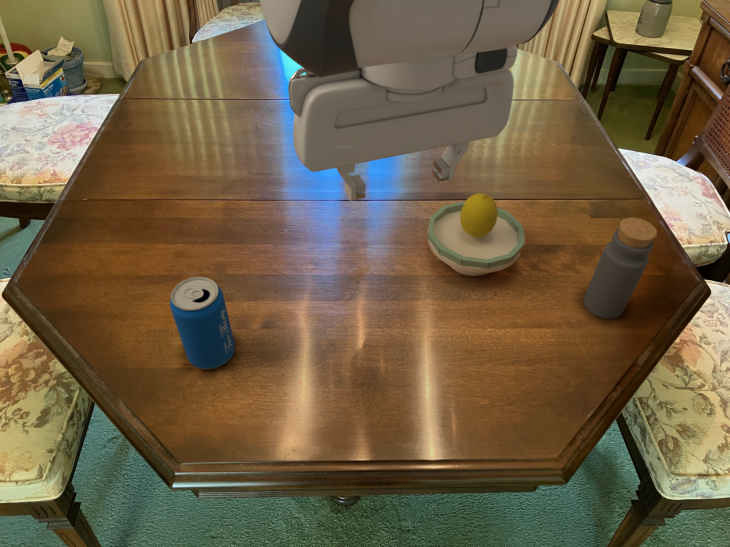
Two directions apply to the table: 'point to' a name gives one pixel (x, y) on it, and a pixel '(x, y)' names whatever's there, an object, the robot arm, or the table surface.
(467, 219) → the lemon
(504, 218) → the bowl
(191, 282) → the beverage can
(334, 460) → the table surface
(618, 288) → the bottle
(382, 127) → the robot arm
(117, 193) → the table surface
